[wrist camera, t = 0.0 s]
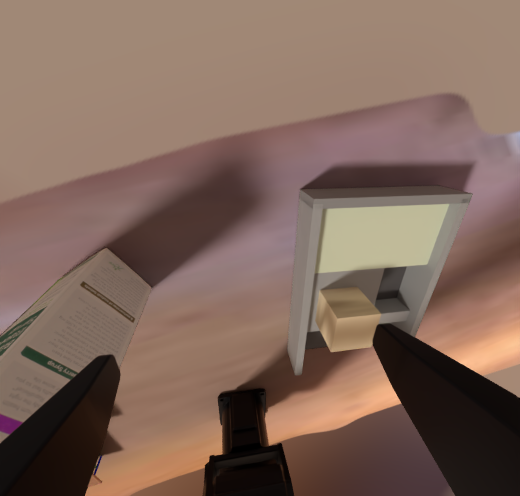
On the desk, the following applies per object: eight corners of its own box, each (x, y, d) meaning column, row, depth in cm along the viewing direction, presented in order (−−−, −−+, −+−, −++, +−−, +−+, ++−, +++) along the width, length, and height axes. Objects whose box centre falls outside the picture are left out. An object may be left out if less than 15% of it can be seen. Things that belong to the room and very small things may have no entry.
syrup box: (106, 244, 21) (-84, 432, 8) (155, 288, 23) (74, 482, 10) (59, 278, 21) (-188, 502, 8) (112, 317, 24) (-15, 532, 11)
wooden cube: (350, 317, 26) (371, 346, 22) (315, 320, 25) (330, 352, 21) (357, 286, 24) (381, 313, 20) (319, 290, 23) (337, 318, 20)
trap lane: (387, 337, 32) (405, 360, 29) (287, 350, 30) (294, 375, 27) (438, 185, 23) (473, 193, 20) (299, 189, 21) (313, 199, 18)
